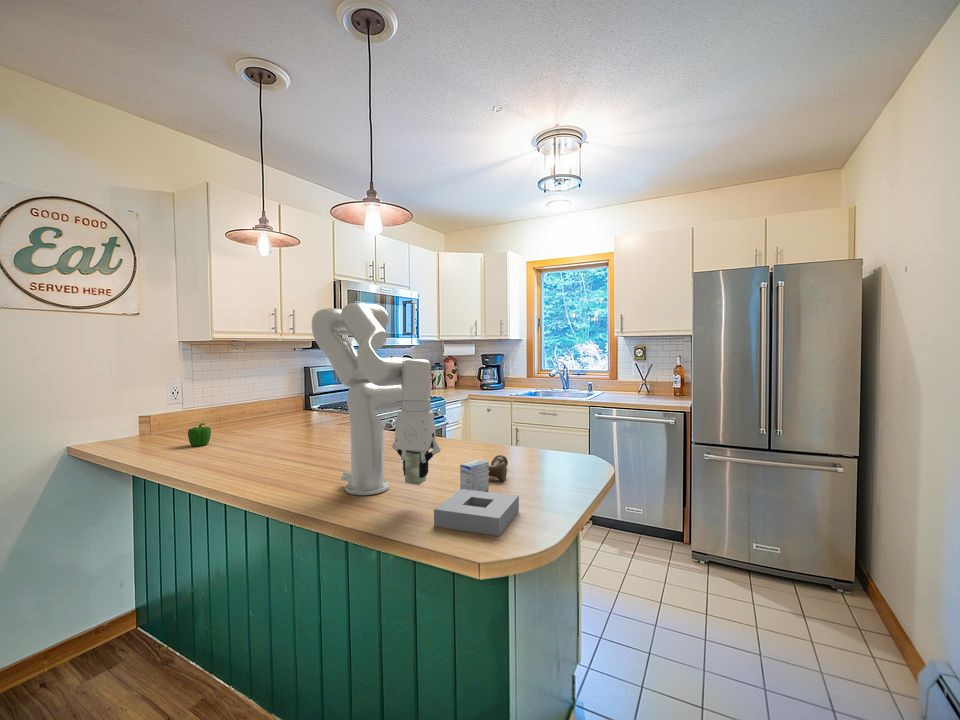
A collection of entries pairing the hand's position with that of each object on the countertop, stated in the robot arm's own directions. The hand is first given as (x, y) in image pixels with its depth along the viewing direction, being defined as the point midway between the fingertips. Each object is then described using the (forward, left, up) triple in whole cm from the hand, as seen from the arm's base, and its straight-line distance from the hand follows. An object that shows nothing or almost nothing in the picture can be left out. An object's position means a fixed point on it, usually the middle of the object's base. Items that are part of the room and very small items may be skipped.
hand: (415, 474), depth 114 cm
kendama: (+10, +33, -9) cm, 36 cm away
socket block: (+18, -2, -8) cm, 20 cm away
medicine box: (+10, +16, -9) cm, 21 cm away
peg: (0, 0, -2) cm, 2 cm away
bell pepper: (-127, +34, -9) cm, 131 cm away
